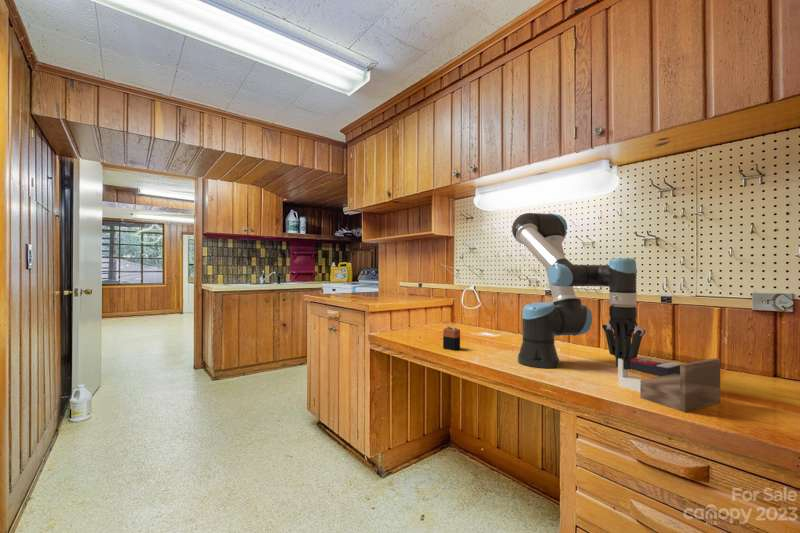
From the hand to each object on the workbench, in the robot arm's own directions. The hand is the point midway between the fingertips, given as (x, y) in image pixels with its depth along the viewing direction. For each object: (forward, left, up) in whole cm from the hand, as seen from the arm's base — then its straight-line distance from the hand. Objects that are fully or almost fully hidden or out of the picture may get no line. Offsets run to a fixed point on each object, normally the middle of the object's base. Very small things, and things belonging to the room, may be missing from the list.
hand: (623, 378), depth 115 cm
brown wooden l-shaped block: (+16, 0, -2) cm, 16 cm away
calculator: (-5, +25, -2) cm, 25 cm away
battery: (-63, -24, -2) cm, 68 cm away
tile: (+5, 0, -2) cm, 5 cm away
